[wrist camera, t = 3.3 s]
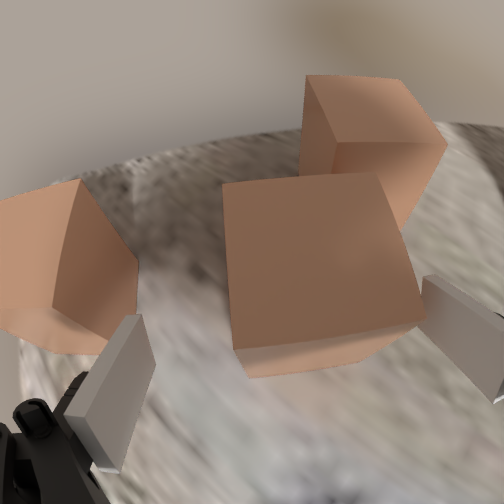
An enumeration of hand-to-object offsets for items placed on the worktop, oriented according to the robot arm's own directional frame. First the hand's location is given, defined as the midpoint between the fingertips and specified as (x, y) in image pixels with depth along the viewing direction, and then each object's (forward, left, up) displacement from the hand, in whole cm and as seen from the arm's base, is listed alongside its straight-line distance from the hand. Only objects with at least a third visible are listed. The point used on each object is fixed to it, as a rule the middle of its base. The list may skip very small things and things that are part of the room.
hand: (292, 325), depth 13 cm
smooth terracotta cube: (-2, -2, -8) cm, 9 cm away
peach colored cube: (-12, -8, -8) cm, 17 cm away
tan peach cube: (+11, -11, -8) cm, 17 cm away
